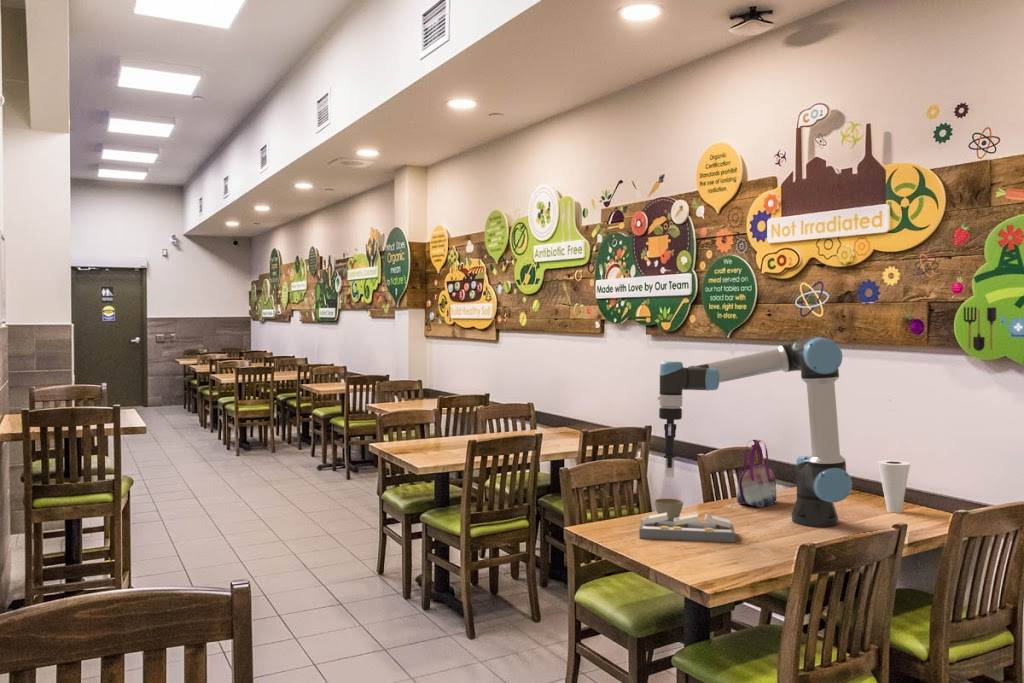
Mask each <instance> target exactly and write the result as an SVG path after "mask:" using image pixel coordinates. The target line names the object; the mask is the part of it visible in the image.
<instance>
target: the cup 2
mask: <svg viewBox="0 0 1024 683" xmlns="http://www.w3.org/2000/svg"><path fill="white" fill-rule="evenodd" d="M877 465H878V470H879V476H880V481H881V486H882V491H883V495H884V502H885V506H886V511H887V512H888V513H894V514H901V513H903V512H902V511H903V505H904V500H905V495H906V489H907V483H908V479H909V473H910V467H911V466H910V465H911V462H908V461H903V460H895V459H894V460H888V459H887V460H878V461H877Z"/></svg>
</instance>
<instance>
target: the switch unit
mask: <svg viewBox="0 0 1024 683" xmlns="http://www.w3.org/2000/svg"><path fill="white" fill-rule="evenodd" d="M638 530H639V534H638V535H639V539H648V540H649V539H650V540H669V541H670V540H671V541H691V542H692V541H693V542H694V541H695V542H696V541H697V542H718V543H736V531H735V528H734V525H733V523H731V525H730V528H728V527H724V526H720V525H717V524H713V523H709V522H699V521H698V522H692V523H687V524H681V525H676V526H675V524H674V522H673V521H660V522H655V523H649V524H644V522H643V519H642V520H640V524H639V529H638Z"/></svg>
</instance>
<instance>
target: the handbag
mask: <svg viewBox="0 0 1024 683" xmlns="http://www.w3.org/2000/svg"><path fill="white" fill-rule="evenodd" d="M751 441H753V443H754V444H753V445H752V449H751V452H750V458H749V464H750V465H749V466H747V458H748V457H747V456H748V444H749V443H750V442H751ZM761 442H763V444H764V447H765V462H766V464H765V465H764V464H763V461H764V460H763V450H762V447H761V445H760V444H761ZM747 443H748V444H747V445H746V448H745V451H744V452H745V453H744V458H743V459H744V461H743V472H742V473H741V474H740V476H739V479H738V484H737V492H736V493H737V494H736V496H737V497H736V502H737V503H738V504H739V505H750V506H753V507H756V508H763V507H767V506H772V505H775V504H776V503H777V481H776V476H775V473H774V471H773V470H772V468H770V463H769V454H768V452H769V451H768V448H767V445H766V443H765V442H764V441H763V440H761V439H759V440H757V439H751V440H749V441H748V442H747ZM756 452H758V457H759V459H758V460H759V464H754V458H755V455H756ZM775 501H776V502H775Z"/></svg>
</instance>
